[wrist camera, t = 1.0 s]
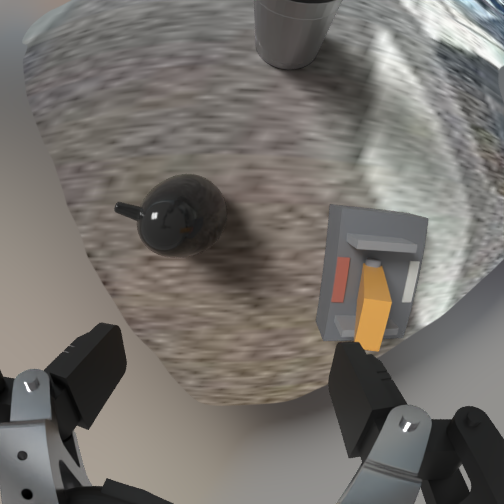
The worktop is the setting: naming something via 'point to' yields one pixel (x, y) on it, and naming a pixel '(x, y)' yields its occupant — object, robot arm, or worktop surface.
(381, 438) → the robot arm
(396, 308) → the switch box
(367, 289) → the lever
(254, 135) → the worktop surface
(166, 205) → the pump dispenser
